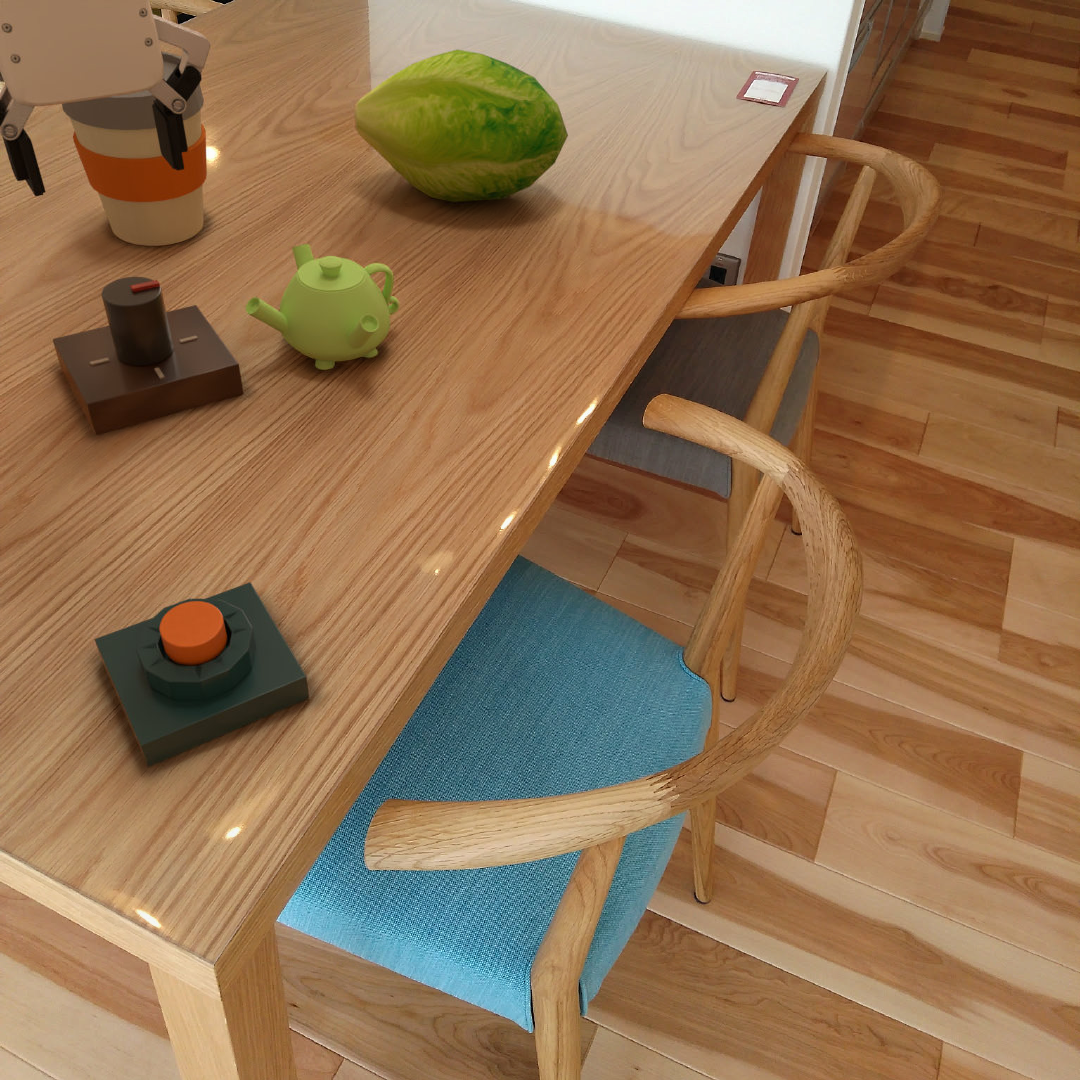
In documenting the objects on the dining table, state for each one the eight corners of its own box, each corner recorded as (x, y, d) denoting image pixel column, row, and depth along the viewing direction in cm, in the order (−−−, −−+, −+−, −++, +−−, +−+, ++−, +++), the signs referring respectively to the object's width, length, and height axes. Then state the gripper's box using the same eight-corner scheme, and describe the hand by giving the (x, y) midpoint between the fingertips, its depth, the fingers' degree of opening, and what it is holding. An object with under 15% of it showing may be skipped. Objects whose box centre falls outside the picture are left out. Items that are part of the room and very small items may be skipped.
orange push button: (176, 674, 59) (171, 655, 58) (156, 633, 61) (150, 614, 60) (236, 651, 61) (232, 632, 60) (214, 612, 63) (210, 592, 62)
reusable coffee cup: (180, 265, 98) (150, 109, 88) (65, 238, 100) (24, 82, 90) (244, 210, 107) (224, 62, 97) (138, 186, 109) (107, 39, 99)
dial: (126, 371, 81) (110, 307, 77) (109, 343, 83) (93, 280, 79) (180, 357, 83) (168, 294, 79) (163, 330, 85) (149, 268, 81)
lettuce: (351, 214, 106) (363, 168, 119) (567, 224, 108) (556, 178, 121) (344, 63, 98) (358, 31, 110) (579, 77, 100) (567, 44, 112)
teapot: (417, 325, 94) (416, 241, 88) (375, 395, 86) (372, 308, 80) (302, 303, 95) (293, 219, 89) (250, 370, 87) (237, 282, 81)
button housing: (148, 767, 59) (134, 727, 56) (102, 661, 64) (87, 619, 61) (309, 698, 63) (304, 657, 60) (254, 604, 68) (247, 562, 66)
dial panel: (95, 435, 80) (86, 402, 77) (61, 369, 85) (51, 336, 83) (243, 393, 85) (238, 362, 83) (201, 334, 90) (196, 302, 88)
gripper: (165, -125, 67) (206, 134, 79) (-131, -108, 59) (-36, 175, 71) (206, -94, 62) (242, 174, 74) (-108, -72, 55) (-11, 222, 67)
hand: (106, 174), depth 73 cm, fingers open, 9 cm apart
